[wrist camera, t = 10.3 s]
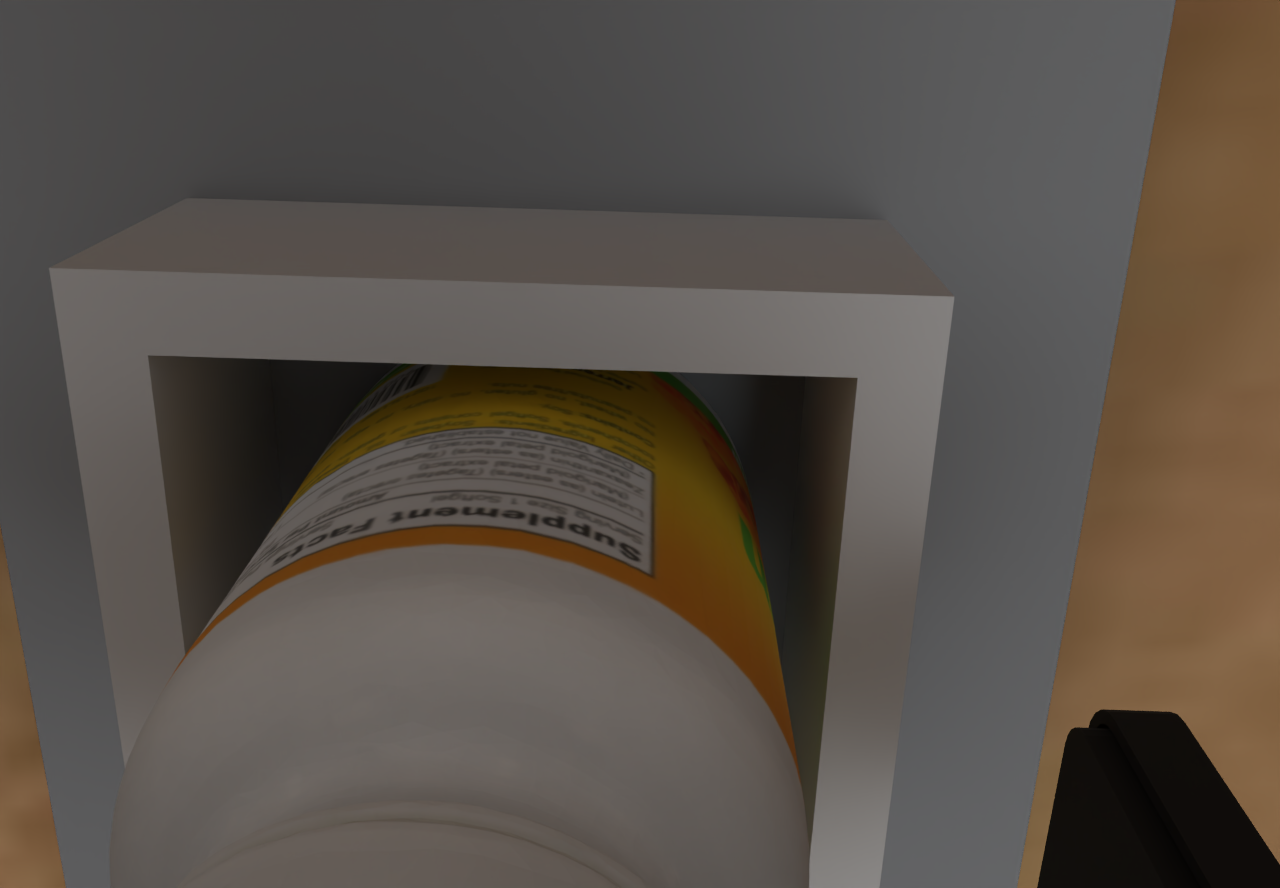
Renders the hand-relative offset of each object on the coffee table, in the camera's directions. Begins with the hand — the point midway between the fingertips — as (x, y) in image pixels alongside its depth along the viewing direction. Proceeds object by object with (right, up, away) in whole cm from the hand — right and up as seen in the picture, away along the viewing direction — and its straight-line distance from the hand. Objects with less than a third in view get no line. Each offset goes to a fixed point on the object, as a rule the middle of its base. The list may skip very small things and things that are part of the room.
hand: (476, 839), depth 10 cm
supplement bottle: (0, +2, +6) cm, 7 cm away
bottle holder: (0, +3, +7) cm, 8 cm away
